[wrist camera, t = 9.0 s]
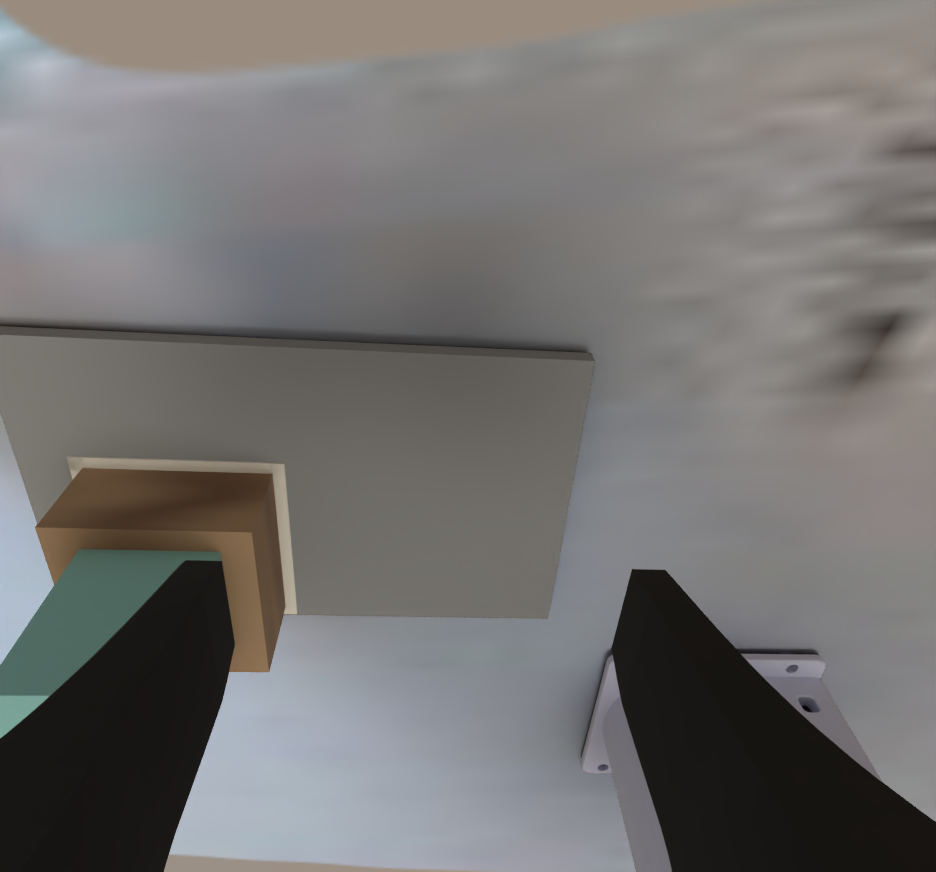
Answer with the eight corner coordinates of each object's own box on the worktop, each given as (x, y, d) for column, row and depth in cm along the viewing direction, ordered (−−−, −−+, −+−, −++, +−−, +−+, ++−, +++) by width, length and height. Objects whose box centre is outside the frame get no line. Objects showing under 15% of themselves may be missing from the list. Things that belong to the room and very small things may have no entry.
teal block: (220, 551, 20) (162, 696, 15) (235, 645, 22) (187, 796, 18) (79, 549, 19) (-21, 695, 15) (107, 644, 22) (28, 797, 17)
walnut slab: (272, 473, 22) (251, 532, 19) (285, 606, 25) (269, 672, 23) (82, 468, 22) (35, 527, 19) (119, 603, 25) (83, 670, 22)
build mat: (590, 352, 21) (595, 362, 20) (545, 607, 27) (548, 619, 26) (-14, 325, 20) (-27, 334, 19) (73, 599, 25) (65, 612, 25)
